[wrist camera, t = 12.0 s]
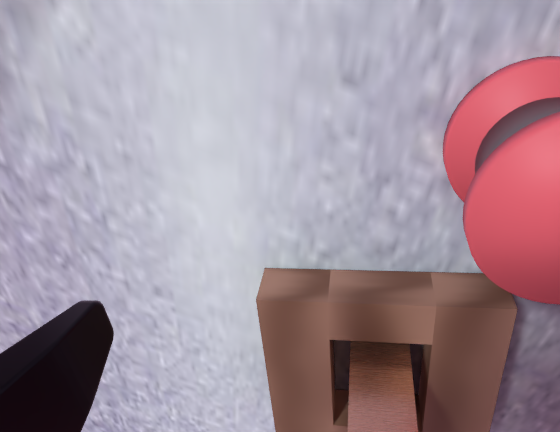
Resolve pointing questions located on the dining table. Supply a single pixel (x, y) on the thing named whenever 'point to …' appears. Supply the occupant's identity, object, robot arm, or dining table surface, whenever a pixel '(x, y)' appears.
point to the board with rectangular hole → (384, 328)
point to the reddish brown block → (381, 388)
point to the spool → (511, 176)
